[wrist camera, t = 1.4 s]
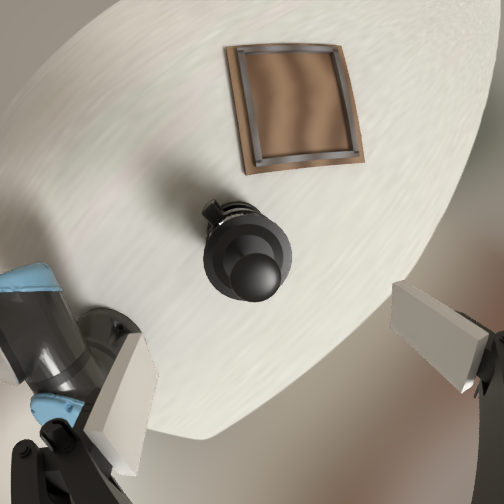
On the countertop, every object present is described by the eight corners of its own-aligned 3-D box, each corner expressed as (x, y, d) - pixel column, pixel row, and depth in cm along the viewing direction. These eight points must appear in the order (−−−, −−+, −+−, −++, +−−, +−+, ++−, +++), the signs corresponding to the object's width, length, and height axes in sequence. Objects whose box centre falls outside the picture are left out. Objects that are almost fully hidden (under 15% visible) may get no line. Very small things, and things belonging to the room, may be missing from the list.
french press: (281, 236, 46) (338, 286, 23) (237, 274, 46) (256, 354, 24) (232, 180, 43) (247, 177, 20) (187, 221, 43) (157, 262, 21)
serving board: (246, 175, 43) (247, 174, 40) (226, 50, 37) (226, 43, 35) (361, 162, 44) (368, 162, 42) (338, 48, 39) (343, 43, 36)
